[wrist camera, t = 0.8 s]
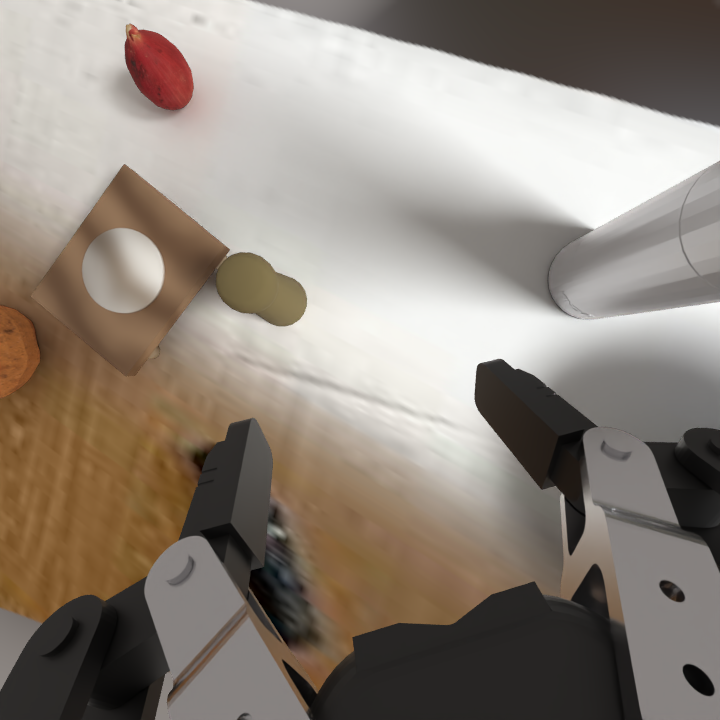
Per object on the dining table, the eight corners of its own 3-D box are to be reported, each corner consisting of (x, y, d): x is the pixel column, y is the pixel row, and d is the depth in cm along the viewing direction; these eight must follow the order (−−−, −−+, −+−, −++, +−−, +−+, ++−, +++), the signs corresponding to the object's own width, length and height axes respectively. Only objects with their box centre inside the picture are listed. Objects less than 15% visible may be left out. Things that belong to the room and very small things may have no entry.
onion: (189, 137, 34) (132, 73, 27) (152, 109, 35) (85, 36, 27) (217, 96, 34) (169, 19, 26) (179, 68, 34) (120, -18, 26)
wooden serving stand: (154, 186, 35) (120, 161, 30) (242, 258, 35) (222, 244, 30) (70, 302, 36) (26, 295, 31) (155, 373, 36) (122, 376, 31)
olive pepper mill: (248, 310, 35) (190, 292, 24) (273, 266, 34) (224, 227, 24) (291, 335, 35) (251, 329, 24) (316, 291, 34) (287, 264, 23)
